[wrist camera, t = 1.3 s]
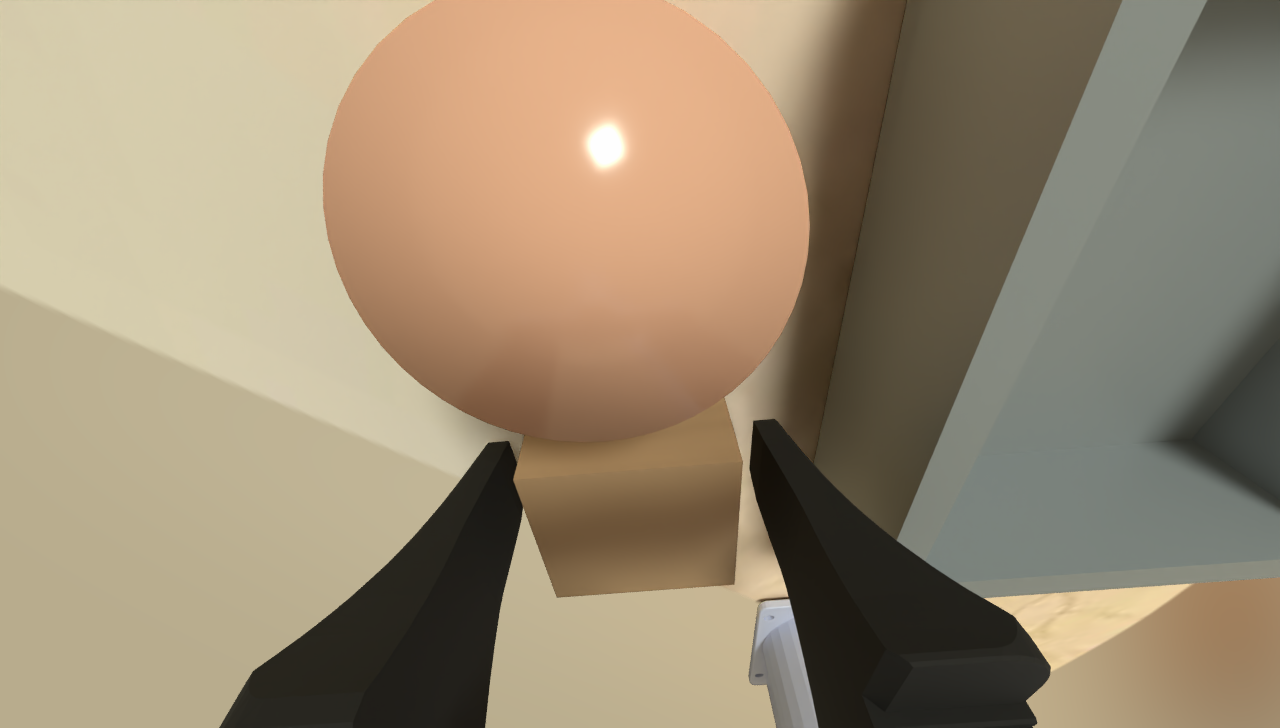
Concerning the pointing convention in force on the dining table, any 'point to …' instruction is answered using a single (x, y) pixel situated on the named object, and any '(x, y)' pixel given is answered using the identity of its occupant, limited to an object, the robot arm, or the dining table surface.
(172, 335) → the dining table surface
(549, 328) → the terracotta cylinder
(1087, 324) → the box
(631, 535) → the walnut cube
